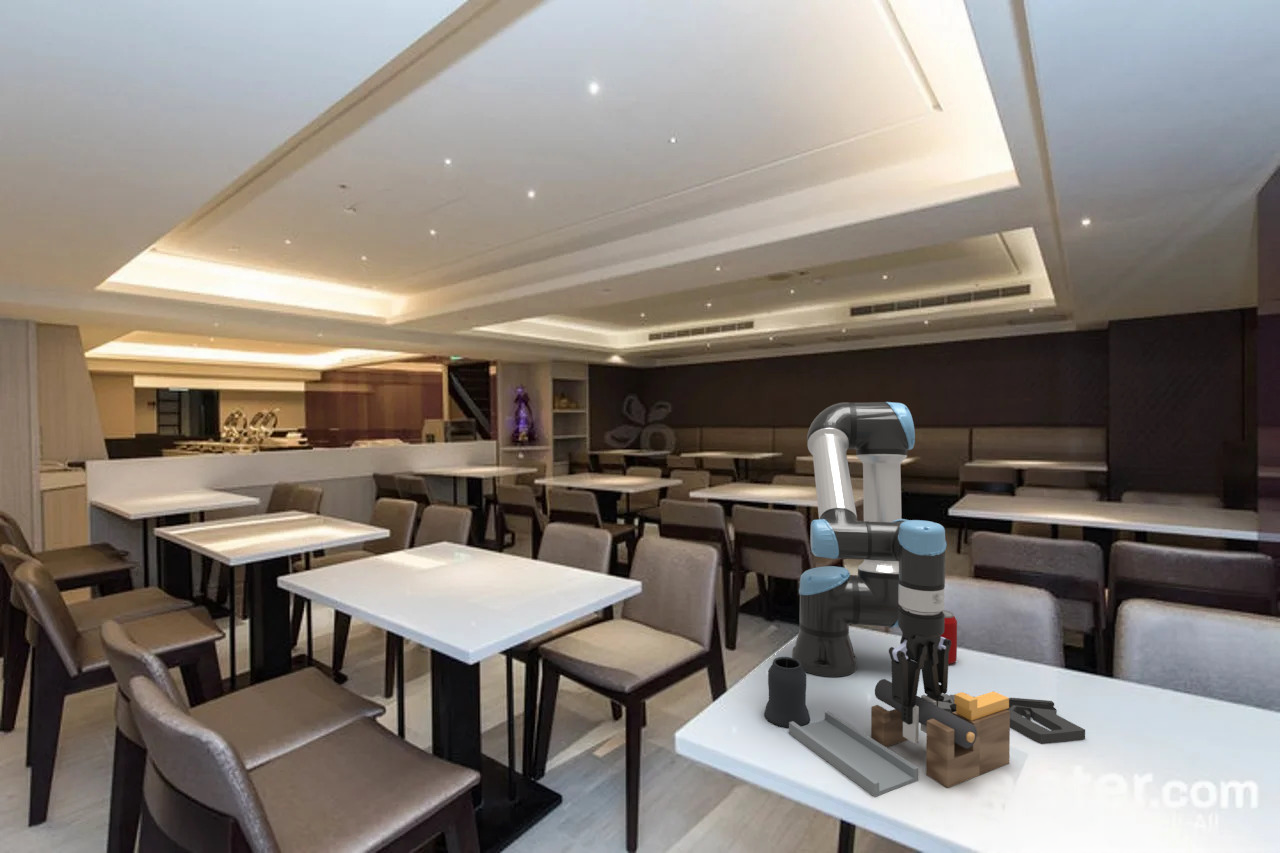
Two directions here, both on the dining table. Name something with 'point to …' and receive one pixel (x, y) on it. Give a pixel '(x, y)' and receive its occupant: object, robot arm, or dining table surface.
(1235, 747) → the dining table surface
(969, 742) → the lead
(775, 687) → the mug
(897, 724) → the rest
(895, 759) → the grey open channel
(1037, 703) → the pistol
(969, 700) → the notched orange block
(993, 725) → the notched wooden block
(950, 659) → the beverage can
